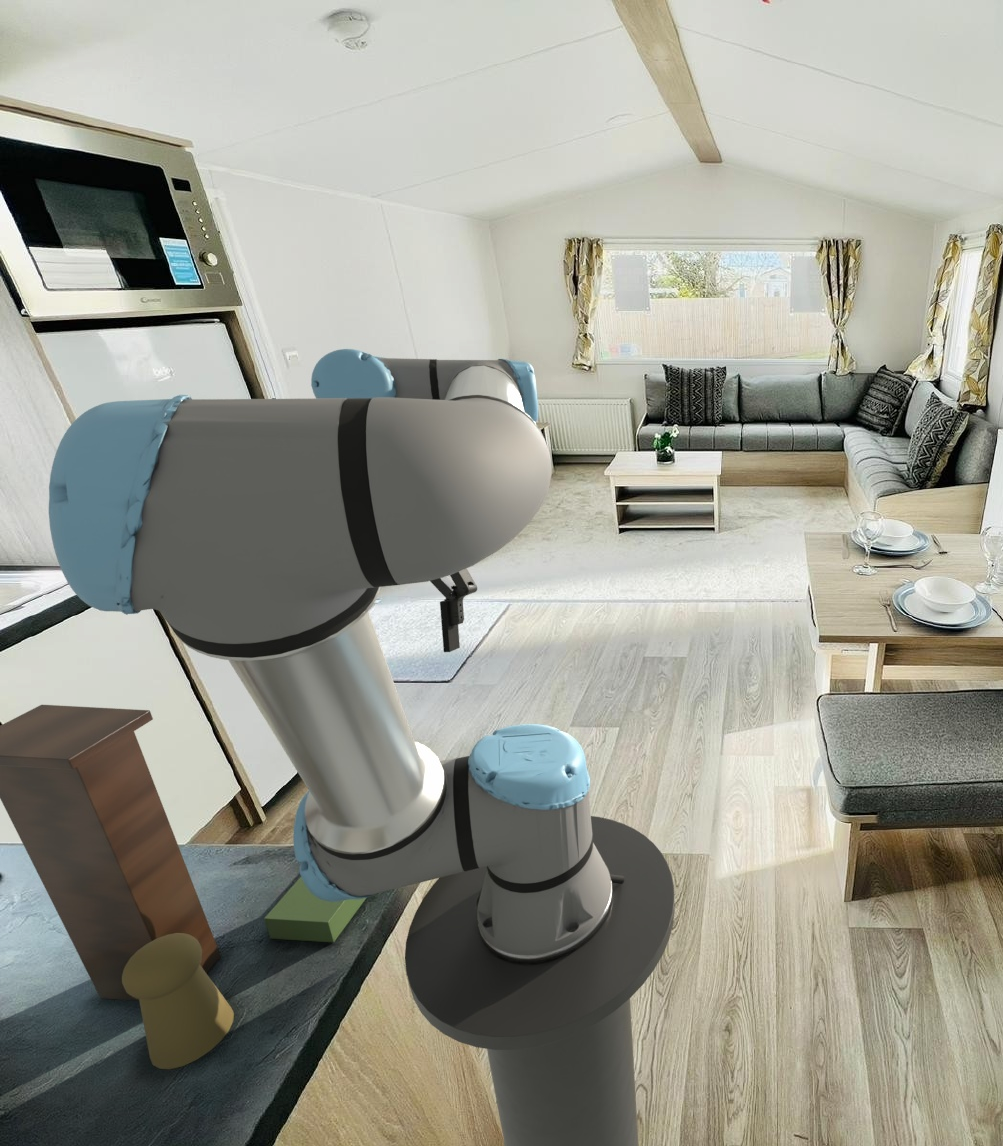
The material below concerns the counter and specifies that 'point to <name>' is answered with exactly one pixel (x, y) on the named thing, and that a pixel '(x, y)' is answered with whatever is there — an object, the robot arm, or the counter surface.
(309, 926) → the paddle
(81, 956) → the shelf stand
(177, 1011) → the cork
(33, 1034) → the counter surface
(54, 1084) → the counter surface
